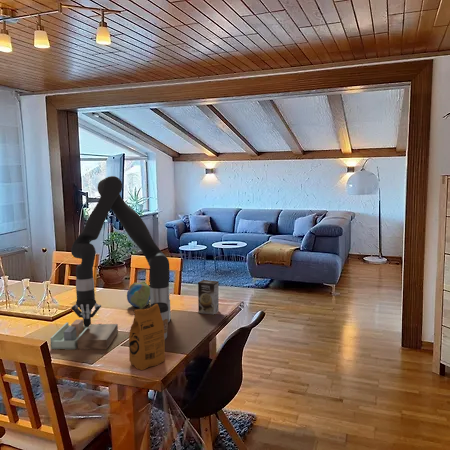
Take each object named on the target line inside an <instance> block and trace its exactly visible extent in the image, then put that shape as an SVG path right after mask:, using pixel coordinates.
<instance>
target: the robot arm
mask: <svg viewBox="0 0 450 450" xmlns="http://www.w3.org/2000/svg"><path fill="white" fill-rule="evenodd" d="M97 183H98V184H97V187H96V188H97V192H98V195H99V196H100V197H99V199H98V201H97V203H96V205H95V207H94V209H93V210H92V212H91V213H90V214H89V216H88V218H87V220H86V222H85V225H84V227H83V230H82V232H80V234H79V235H78V237H77V238H76V239H75V240H74V242H73V243H72V244H71V245H72V246H71V250H70V252H71V255H72V256H73V257H74V258H76V259H81V261H80V262H81V263H79V264H77V265H76V267H75V278H76V279H75V293H76V301H75V304H73V305H72V306H71V310H72V311H73V312H74V314H76V315H77V317H78V318H80V319H83V325H84V326H85V327H89V326H90V325H91V324H92V318H93V317H95V316H96V314H97V312H99V310H100V309H101V308H102V305H101V304H98V303H97V300H96V296H95V295H96V294H95V293H96V292H95V278H94V270H93V267H94V264H95V260H96V255H97V254H96V253H97V252H96V248H95V245H94V244H92V243H91V242H93V241H95V240H97V239H98V238H99V235H101V234H100V233H101V230H102V229H103V225H104V224H105V221H106V219H107V216H108V215H109V213H110V210H112V212H113V214H114V215H115V217H116V218H117V219H118V221H119V223H120V224H121V225H122V227H123V229H124V231H125V232H126V233H127V235H128V237H129V238H130V239H131V240H132V241H133V242H134V244H135V245H136V246H137V247H138V248H139V250H140V251H141V253H142V254H143V256H144V257H145V259H146V262H147V264H148V266H149V286H150V304H149V306H150V305H151V304H153V303H158V302H162V303H166V304H167V306H168V323H170V321H171V318H172V316H171V315H172V314H171V299H170V277H171V276H170V261H169V258H168V257H167V255H165V253H163V252H162V250H161V249H160V248H159V247H158V246H157V244H156V243H155V241H154V239H153V238H152V235H151V232H150V231H149V229H148V227H147V225H146V224H145V221H144V220H143V218H142V217H141V216H140V215H139V213H138V212H137V211H136V210H134V209H133V208H132V207H130V205H128V203H126V202H125V201H124V199H123V197H122V195H121V192H122V190H123V182H122V180H121V179H120V178H119V177H117V176H116V175H110V176H107V177H105V178H103V179H101V180H100V181H99V182H97ZM93 309H94V310H93ZM92 310H93V311H92Z"/></svg>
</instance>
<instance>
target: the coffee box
mask: <svg viewBox="0 0 450 450" xmlns="http://www.w3.org/2000/svg"><path fill="white" fill-rule="evenodd" d="M219 286H220V285H219V281H218V280H217V281H216V280H208V279H202V280H200V281H198V283H197V293H198V294H197V295H198V298H197V299H198V302H197V303H198V304H197V305H198V307H197V308H198V314H204V315H213V316H215V315H216V314H217V313H218V312H219V309H220V308H219V304H220V303H219V297H220V295H219ZM214 314H215V315H214Z"/></svg>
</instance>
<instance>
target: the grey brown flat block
mask: <svg viewBox="0 0 450 450" xmlns="http://www.w3.org/2000/svg"><path fill="white" fill-rule="evenodd" d="M118 325H119V324H117V323H103V324H102V323H101V324H99V323H98V324H97V323H95V324H92V323H91V325H90V326H89V327H88V328H87V330H86V331H85V332H84V333H83V334H82V335H81V336H80V338H79V339H78V340H77V344H78V347H77V350H107V349H108V348H109V347H110V346H111V344H112V343H113V341H114V339H115V338H116V336H117V334H118V333H119V329H118V328H119V327H118Z"/></svg>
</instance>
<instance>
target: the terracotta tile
mask: <svg viewBox="0 0 450 450" xmlns="http://www.w3.org/2000/svg"><path fill="white" fill-rule="evenodd" d="M70 326H71V327H76V337H78V336H79V335H80V334H81V333H82V332H83V331H84V323H83V318H80V319H75V320H74V321H73V322H72V323H71V325H70Z"/></svg>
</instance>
